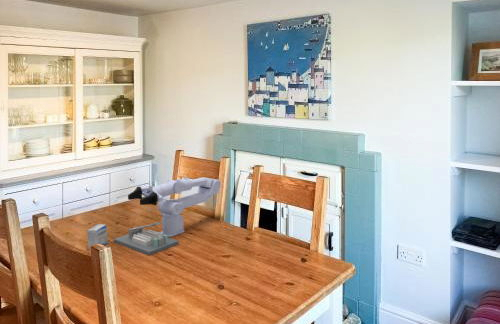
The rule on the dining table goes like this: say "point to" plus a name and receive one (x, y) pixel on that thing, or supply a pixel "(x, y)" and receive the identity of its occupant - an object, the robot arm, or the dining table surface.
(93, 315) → the dining table surface
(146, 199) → the robot arm
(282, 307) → the dining table surface
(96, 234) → the medicine box
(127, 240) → the heatsink board
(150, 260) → the dining table surface
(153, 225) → the strap
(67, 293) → the dining table surface
